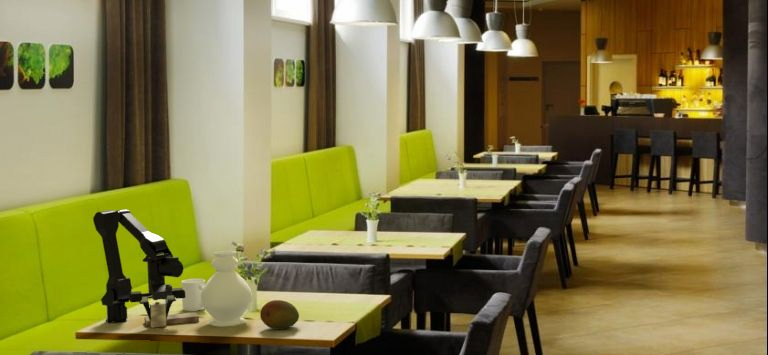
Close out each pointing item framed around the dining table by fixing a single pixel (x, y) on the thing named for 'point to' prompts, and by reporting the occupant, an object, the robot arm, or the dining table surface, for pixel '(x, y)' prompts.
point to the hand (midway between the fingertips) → (158, 319)
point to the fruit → (279, 314)
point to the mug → (192, 294)
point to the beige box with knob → (158, 315)
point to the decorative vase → (226, 292)
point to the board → (178, 318)
